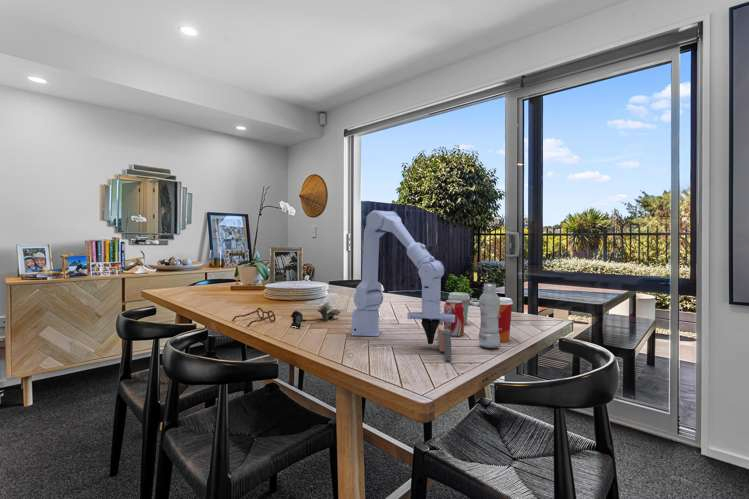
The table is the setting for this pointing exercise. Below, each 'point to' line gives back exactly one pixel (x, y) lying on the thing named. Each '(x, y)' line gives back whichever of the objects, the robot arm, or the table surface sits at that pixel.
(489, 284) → the plastic bottle
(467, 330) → the table surface
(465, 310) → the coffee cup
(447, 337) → the grey angular block
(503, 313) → the paper cup
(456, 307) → the soda can
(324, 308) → the artificial flower
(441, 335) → the rectangular block
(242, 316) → the glasses
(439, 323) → the gray lobed block
